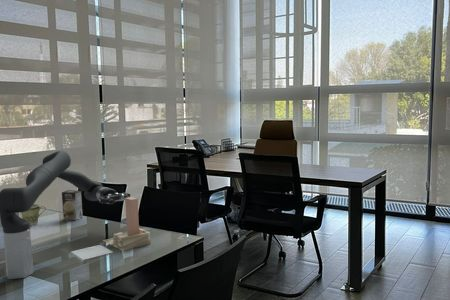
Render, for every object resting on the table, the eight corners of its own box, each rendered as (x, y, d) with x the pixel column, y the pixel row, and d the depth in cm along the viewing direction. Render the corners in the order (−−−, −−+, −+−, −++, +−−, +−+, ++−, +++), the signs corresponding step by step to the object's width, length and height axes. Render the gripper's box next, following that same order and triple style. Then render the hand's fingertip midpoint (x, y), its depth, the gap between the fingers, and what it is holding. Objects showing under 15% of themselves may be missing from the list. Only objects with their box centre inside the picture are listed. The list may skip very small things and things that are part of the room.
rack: (150, 246, 193) (150, 232, 192) (121, 253, 184) (121, 239, 183) (130, 237, 208) (129, 223, 207) (102, 243, 199) (101, 229, 199)
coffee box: (62, 219, 246) (60, 192, 245) (69, 217, 253) (67, 190, 251) (76, 220, 244) (74, 192, 242) (83, 217, 250) (81, 190, 249)
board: (139, 242, 194) (137, 198, 192) (133, 243, 192) (131, 199, 190) (133, 239, 199) (131, 196, 197) (127, 241, 197) (125, 197, 195)
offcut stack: (129, 245, 190) (129, 235, 189) (121, 247, 187) (120, 237, 187) (121, 241, 196) (120, 232, 196) (113, 243, 193) (112, 233, 193)
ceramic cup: (19, 227, 233) (18, 209, 233) (22, 222, 243) (21, 205, 242) (45, 224, 237) (44, 206, 236) (47, 220, 247) (46, 203, 246)
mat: (113, 255, 182) (113, 252, 182) (83, 263, 174) (83, 259, 174) (100, 248, 193) (99, 244, 193) (71, 254, 185) (70, 251, 185)
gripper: (92, 190, 209) (106, 195, 197) (119, 185, 218) (134, 190, 206) (93, 205, 210) (107, 211, 198) (120, 200, 219) (135, 205, 207)
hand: (121, 200), depth 202 cm, fingers open, 8 cm apart
